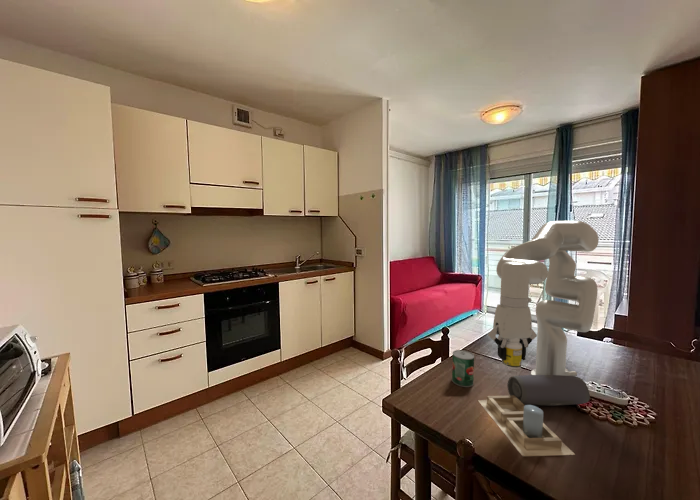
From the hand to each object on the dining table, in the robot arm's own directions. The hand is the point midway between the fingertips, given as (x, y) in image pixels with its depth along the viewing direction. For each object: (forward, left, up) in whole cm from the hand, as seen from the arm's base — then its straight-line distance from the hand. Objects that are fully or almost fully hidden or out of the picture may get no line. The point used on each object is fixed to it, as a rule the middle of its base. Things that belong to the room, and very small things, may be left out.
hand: (511, 357), depth 90 cm
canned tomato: (+6, -20, -19) cm, 29 cm away
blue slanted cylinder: (0, +11, -18) cm, 21 cm away
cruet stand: (0, +6, -19) cm, 20 cm away
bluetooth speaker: (-16, -5, -19) cm, 25 cm away
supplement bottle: (0, 0, -3) cm, 3 cm away
